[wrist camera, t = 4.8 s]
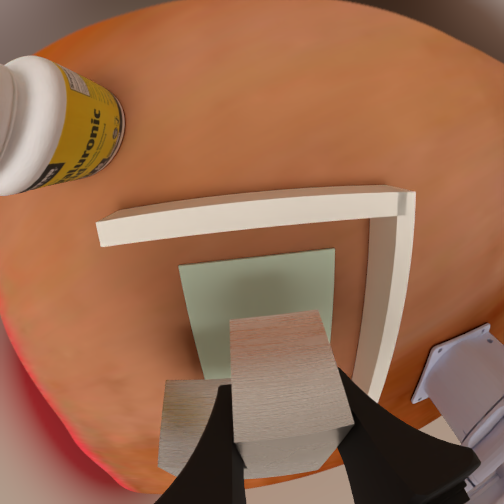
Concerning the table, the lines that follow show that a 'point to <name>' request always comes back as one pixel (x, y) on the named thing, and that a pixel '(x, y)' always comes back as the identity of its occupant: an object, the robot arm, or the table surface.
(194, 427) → the bracket
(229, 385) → the robot arm
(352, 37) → the table surface
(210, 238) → the table surface
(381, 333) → the arena
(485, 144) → the table surface
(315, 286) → the mat
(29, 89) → the supplement bottle
